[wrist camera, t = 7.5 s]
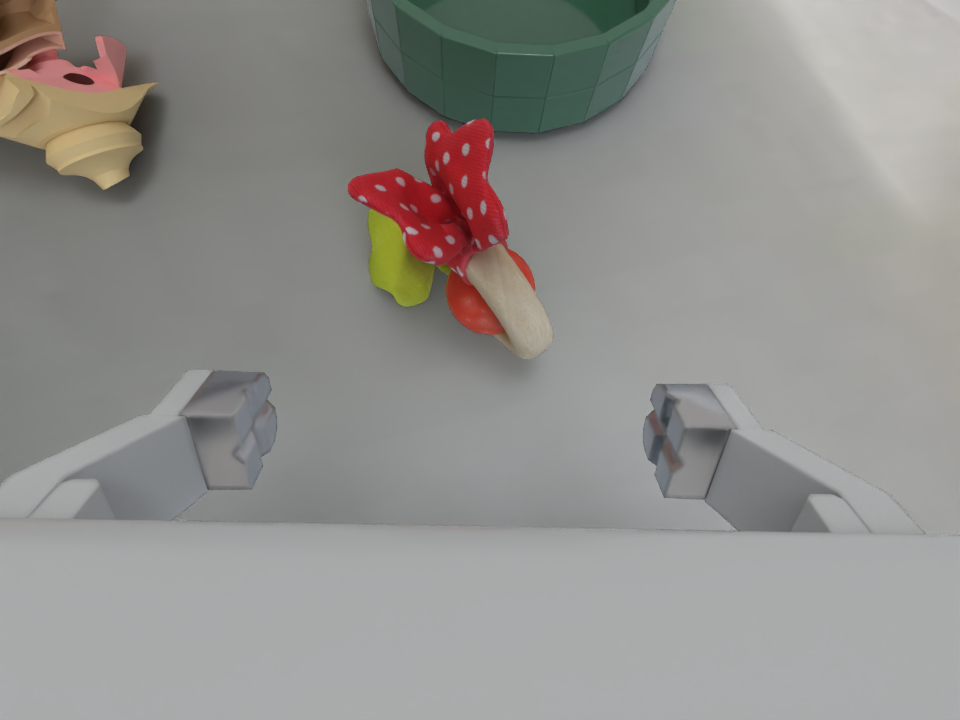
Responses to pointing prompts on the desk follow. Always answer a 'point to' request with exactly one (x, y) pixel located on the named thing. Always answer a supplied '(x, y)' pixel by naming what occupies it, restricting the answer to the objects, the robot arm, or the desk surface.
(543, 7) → the bowl
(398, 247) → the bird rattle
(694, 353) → the desk surface
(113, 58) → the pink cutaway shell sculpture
